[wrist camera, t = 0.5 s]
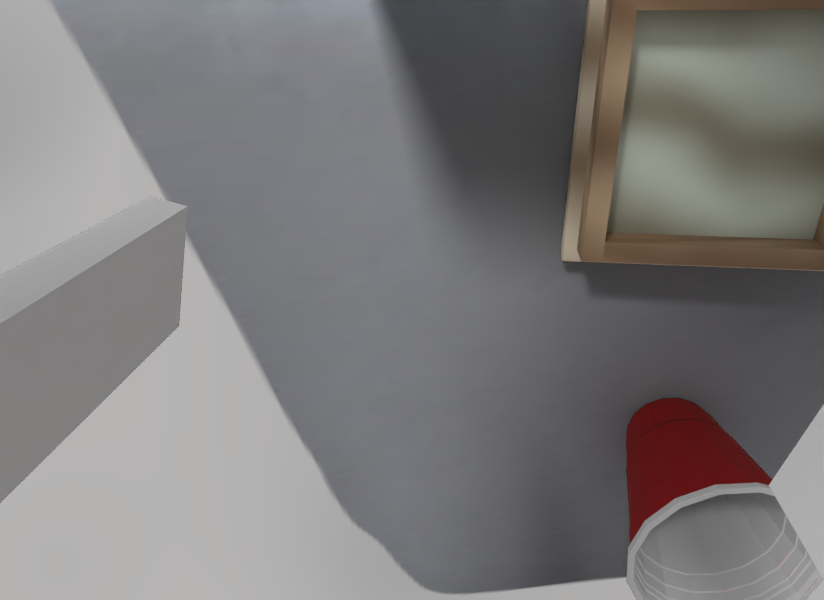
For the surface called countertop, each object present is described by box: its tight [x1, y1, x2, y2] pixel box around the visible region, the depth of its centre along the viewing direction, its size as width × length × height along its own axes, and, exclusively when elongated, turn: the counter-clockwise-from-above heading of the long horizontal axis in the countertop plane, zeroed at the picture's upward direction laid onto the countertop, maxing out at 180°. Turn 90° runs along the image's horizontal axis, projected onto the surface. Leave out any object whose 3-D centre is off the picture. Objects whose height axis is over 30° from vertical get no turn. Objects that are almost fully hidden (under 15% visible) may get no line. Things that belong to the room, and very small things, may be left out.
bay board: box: [561, 0, 824, 271], centre depth 31 cm, size 22×16×3 cm
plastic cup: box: [626, 398, 824, 600], centre depth 37 cm, size 11×11×12 cm
